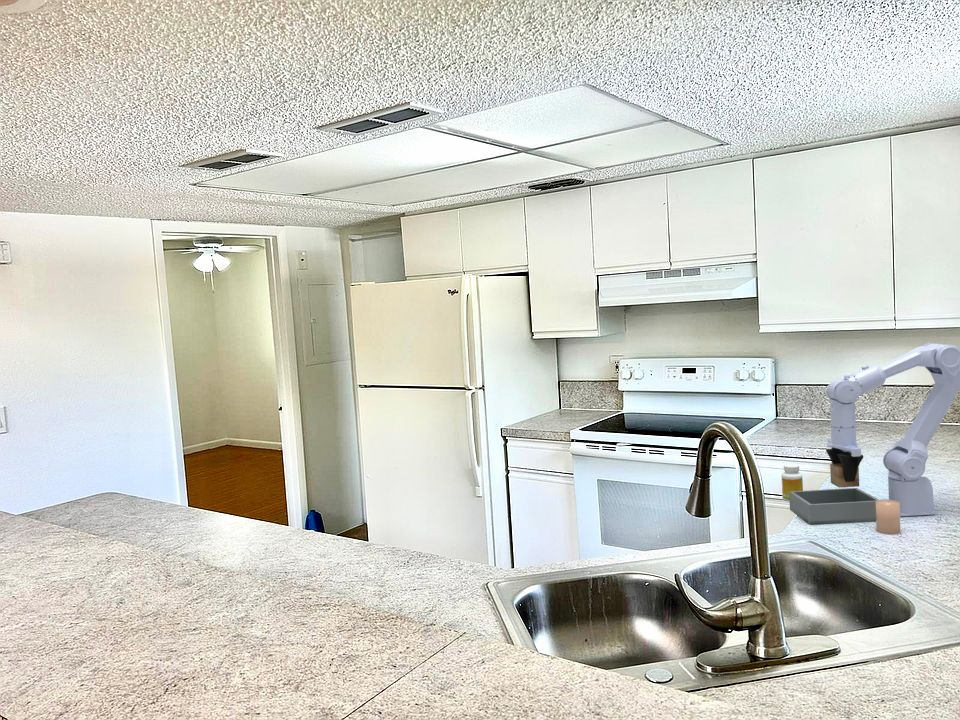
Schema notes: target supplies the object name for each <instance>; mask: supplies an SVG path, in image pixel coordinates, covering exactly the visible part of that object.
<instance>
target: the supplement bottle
mask: <svg viewBox="0 0 960 720" xmlns="http://www.w3.org/2000/svg"><path fill="white" fill-rule="evenodd" d="M783 471H784V472H782V473H781V497H782V500H783V501H784V502H788V503H790V499H789V492H791V491H804V485H803V484H804V483H803V480H804V479H803V475H802V473H801V472H799V471H800V465H799V464H795V463H788V464H784V465H783Z"/></svg>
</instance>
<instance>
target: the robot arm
mask: <svg viewBox="0 0 960 720" xmlns="http://www.w3.org/2000/svg"><path fill="white" fill-rule="evenodd" d="M916 367H922V368H923V367H924V368H925V369H926V370H927V371H928V372H929V373H930V375H931V377H932V379H933V381H934V385H933V387H932V388H931V390H930V391H929V394H928V395H927V397H926V399H925V400H924V402H923V404H922V406H921V408H920V409H919V411H918V413H917V414H916V416H915V418H914V420H913V422H911V425H910V427H909V428H908V430H907V432H906V434H905V435H904V437H903V438H901V439H899V440H898V441H896V442H895V444H894V445H893V446H892V448H890V449H889V450H887V451H886V452H885V453H884V456H883V460H882V461H883V466H884V467H885V469H886V470H888V474H887V483H888V484H887V485H888V499H889V500H895V501H898V502H899V503H900V517H911V516H912V517H913V516H928V515H929V516H930V515H936V512H935V511H934V490H933V489H934V488H933V485H932V482H931V480H930V479H929V478H928V477H926V476H923V475H924V474H925V472H926V463H927V461H928V458H929V453H928V446H929V444H930V442H931V440H932V438H933V437H934V436H935V434H936V432H937V430H938V429H939V426H940V425H941V423H942V422H943V419H944V418H945V416H946V415H947V412H948V411H949V409H950V407H951V406H952V404H953V403H954V400H955V399H956V397H957V395H958V394H959V392H960V347H959V346H957V345H954V344H941V343H936V342H928V343H925V344H923V346H922V345H921V346H917V347H915V348H913V349H912V350H910V351H907V352H906V353H904V354H902V355H900V356H898V357H896V358H894V359H892V360H890V361H888V362H886V363H884V364H882V365H880V366H876V365H873V364H871V365H868V364H864V365H863V366H861V369H859V370H857V371H855V372H853V373H851V374H849V373H848V374H847V373H846V374H844V375H843V378H836V379H833V380H831V381H829V384H828V385H827V388H826V389H825V394H826V397H828V399H829V400H830V401H829V406H830V409H829V411H830V433H831V434H830V436H831V437H830V438H827V441H828V443H826V447H828V449H825V452H826V453H827V455H828V457H829V459H830V461H831V464H838V463H841V464H842V468H843V474H844V479H845V481H846V482H854V481H855V478H856V474H857V470H858V467H859V466H860V464H861V462H862V460H863V459H864V455H863V454H862V448H860V447H859V445H858V443H857V424H856V421H857V420H856V401H857V400H858V398H859V397H860V396H862V395H864V394H867V393H869V392H871V391H873V390H875V389H878V388H880V387H882V386H884V384H885V382H886V379H888V378H890V377H893V376H896V375H898V374H901V373H904V372H905V371H908V370H910V369H914V368H916ZM859 468H860V467H859Z"/></svg>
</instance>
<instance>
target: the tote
mask: <svg viewBox="0 0 960 720" xmlns="http://www.w3.org/2000/svg"><path fill="white" fill-rule="evenodd" d="M789 499H790V502H789V511H790V512H792V513H793V514H795V515H796V516H797V517H799V518H800V519H801V520H802V521H804V522H806V523H807V524H808V525H810V526H812V525H813V526H815V525H816V526H817V525H831V524H852V523H853V524H854V523H870V522H872V523H873V522H876V500H880V499H878V498H877V497H875V496H873V495H871V494H869V493H867V492H865V491H864V490H861V489H860V488H859V487H844V488H831V489H827V488H826V489H812V490H811V489H810V490H803V491H791V492H789Z"/></svg>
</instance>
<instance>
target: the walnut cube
mask: <svg viewBox="0 0 960 720" xmlns="http://www.w3.org/2000/svg"><path fill="white" fill-rule="evenodd" d="M829 468H830V469H829V470H830V473H829V474H830V484H832V485H834V486H835V487H837V488H838V489H842V488H859V487H860V467H858V470H857V474H856V478H855V481H854V482H846V481H845V479H844V474H843V468H842V464H841V463H838V464H832V463H830V464H829Z"/></svg>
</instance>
